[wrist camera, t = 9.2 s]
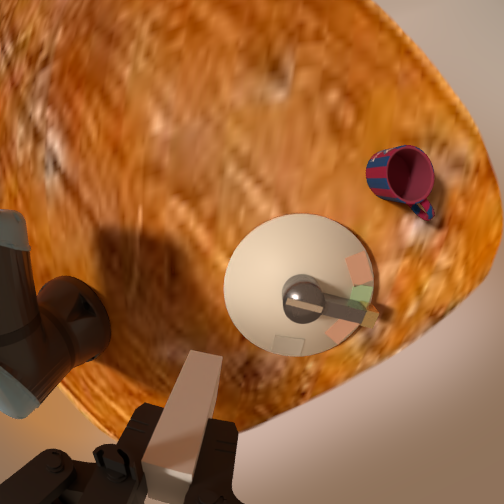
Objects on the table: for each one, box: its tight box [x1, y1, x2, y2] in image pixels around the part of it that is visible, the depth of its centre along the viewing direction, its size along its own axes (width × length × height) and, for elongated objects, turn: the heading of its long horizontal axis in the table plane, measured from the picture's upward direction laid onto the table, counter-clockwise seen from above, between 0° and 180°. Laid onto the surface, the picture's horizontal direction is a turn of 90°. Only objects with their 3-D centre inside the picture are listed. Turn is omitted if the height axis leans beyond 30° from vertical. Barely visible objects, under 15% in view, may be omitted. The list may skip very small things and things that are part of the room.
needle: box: [282, 274, 379, 328], centre depth 36 cm, size 12×5×4 cm, turn 75°
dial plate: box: [224, 213, 374, 357], centre depth 38 cm, size 20×20×2 cm
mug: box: [366, 145, 435, 221], centre depth 32 cm, size 7×10×7 cm
